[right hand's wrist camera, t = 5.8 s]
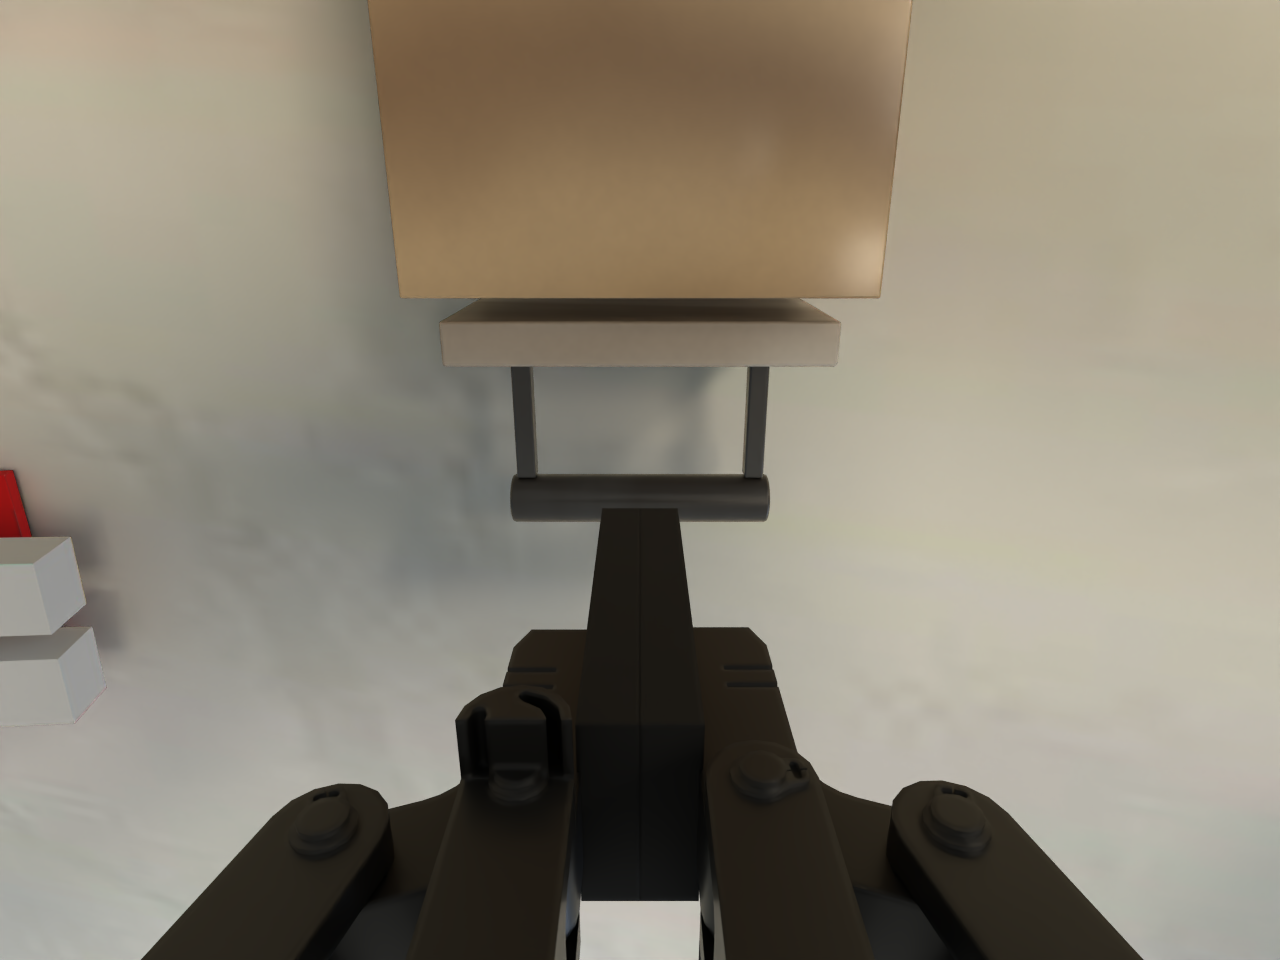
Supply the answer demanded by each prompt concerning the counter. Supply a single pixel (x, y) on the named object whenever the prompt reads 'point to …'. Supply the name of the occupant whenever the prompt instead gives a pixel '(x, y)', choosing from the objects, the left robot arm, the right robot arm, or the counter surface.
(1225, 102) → the counter surface
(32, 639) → the toy
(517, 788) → the right robot arm
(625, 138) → the cabinet
